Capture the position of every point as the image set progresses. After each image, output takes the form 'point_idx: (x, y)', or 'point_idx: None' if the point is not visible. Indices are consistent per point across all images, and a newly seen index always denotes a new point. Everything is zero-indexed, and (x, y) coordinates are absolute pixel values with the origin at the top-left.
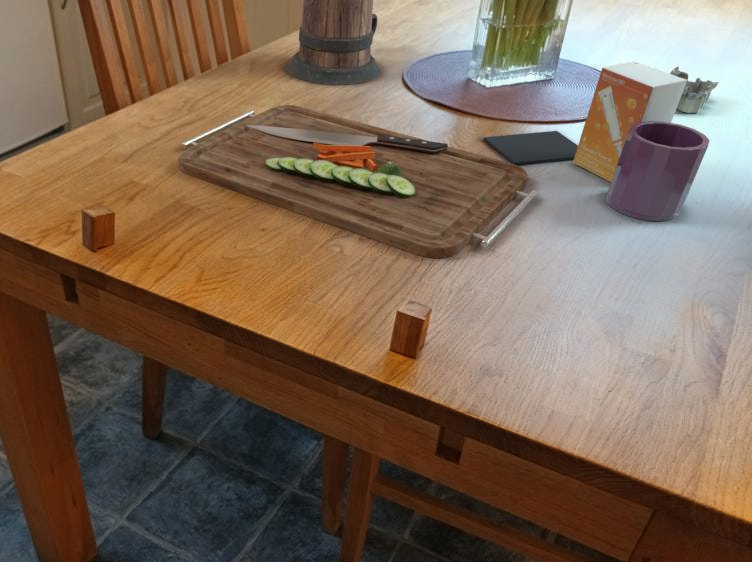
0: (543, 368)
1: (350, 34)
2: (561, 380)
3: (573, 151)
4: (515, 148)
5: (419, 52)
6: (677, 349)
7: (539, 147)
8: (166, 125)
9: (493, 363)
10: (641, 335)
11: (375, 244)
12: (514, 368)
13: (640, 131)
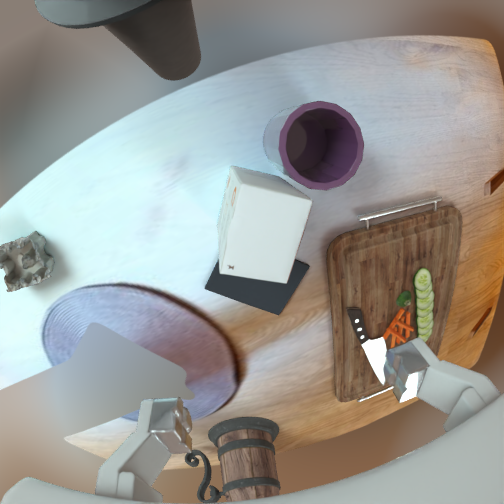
0: (488, 120)
1: (258, 449)
2: (489, 110)
3: None
4: (279, 285)
5: None
6: (447, 66)
7: None
8: (391, 399)
9: (495, 140)
10: (450, 84)
11: None
12: (493, 131)
13: (311, 180)
